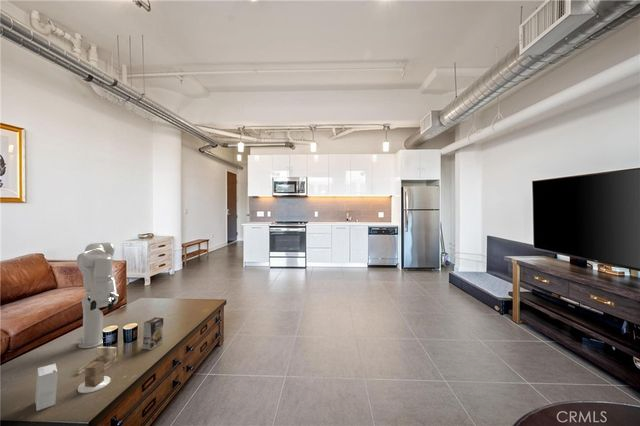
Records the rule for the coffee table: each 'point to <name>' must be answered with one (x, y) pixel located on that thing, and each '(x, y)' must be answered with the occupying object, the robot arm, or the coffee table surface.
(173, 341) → the coffee table surface
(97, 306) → the robot arm
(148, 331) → the coffee box
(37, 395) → the skincare box
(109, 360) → the birch slot
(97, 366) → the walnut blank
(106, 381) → the ceramic coaster
